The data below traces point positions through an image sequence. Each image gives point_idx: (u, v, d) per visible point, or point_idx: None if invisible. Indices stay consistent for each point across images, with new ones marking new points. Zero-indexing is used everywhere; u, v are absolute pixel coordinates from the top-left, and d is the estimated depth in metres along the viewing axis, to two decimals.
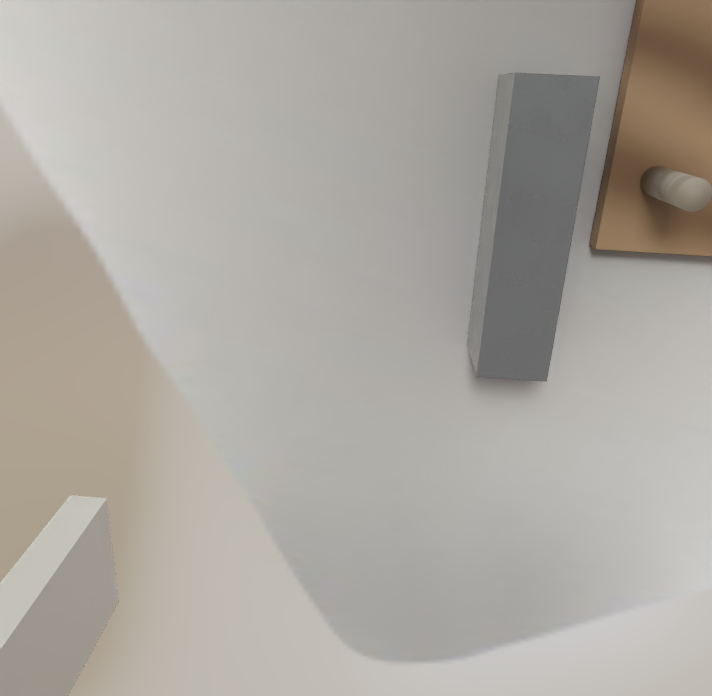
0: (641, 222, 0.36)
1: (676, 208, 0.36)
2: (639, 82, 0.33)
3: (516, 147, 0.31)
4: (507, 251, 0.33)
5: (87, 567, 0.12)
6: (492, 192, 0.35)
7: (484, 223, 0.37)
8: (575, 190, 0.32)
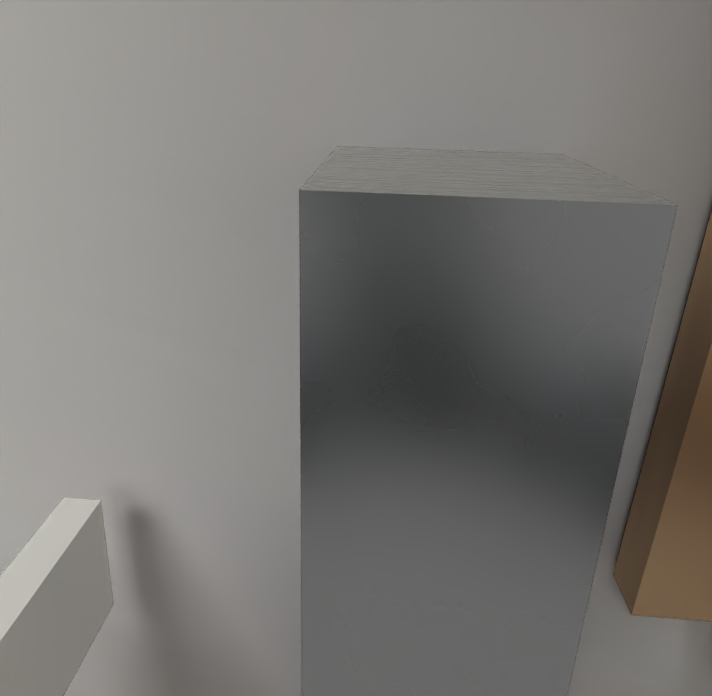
0: None
1: None
2: None
3: (342, 458, 0.08)
4: None
5: (81, 569, 0.12)
6: None
7: None
8: (573, 592, 0.09)
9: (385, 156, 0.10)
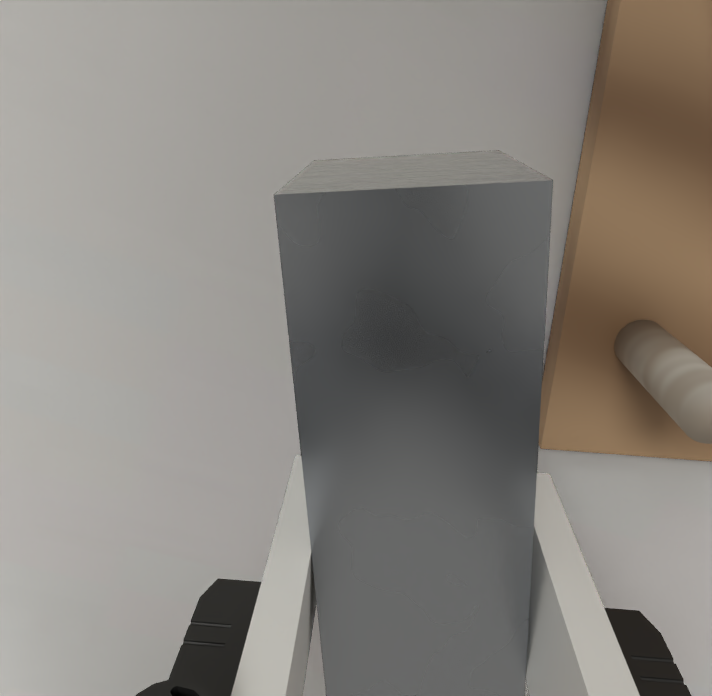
0: (617, 409, 0.21)
1: None
2: (608, 179, 0.18)
3: (328, 399, 0.10)
4: (360, 641, 0.12)
5: None
6: None
7: None
8: (522, 495, 0.11)
9: (349, 165, 0.13)
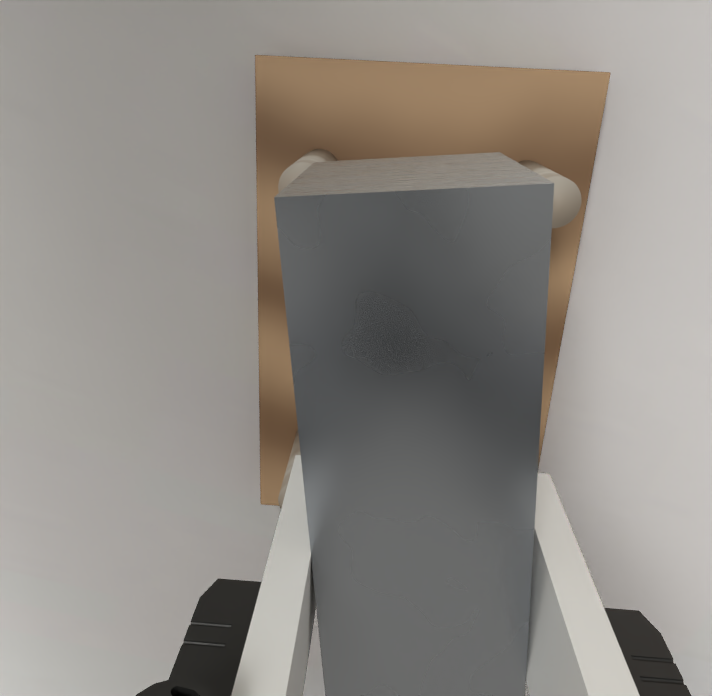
0: None
1: None
2: (271, 334, 0.28)
3: (327, 402, 0.10)
4: (360, 644, 0.12)
5: None
6: None
7: None
8: (523, 499, 0.11)
9: (350, 167, 0.12)
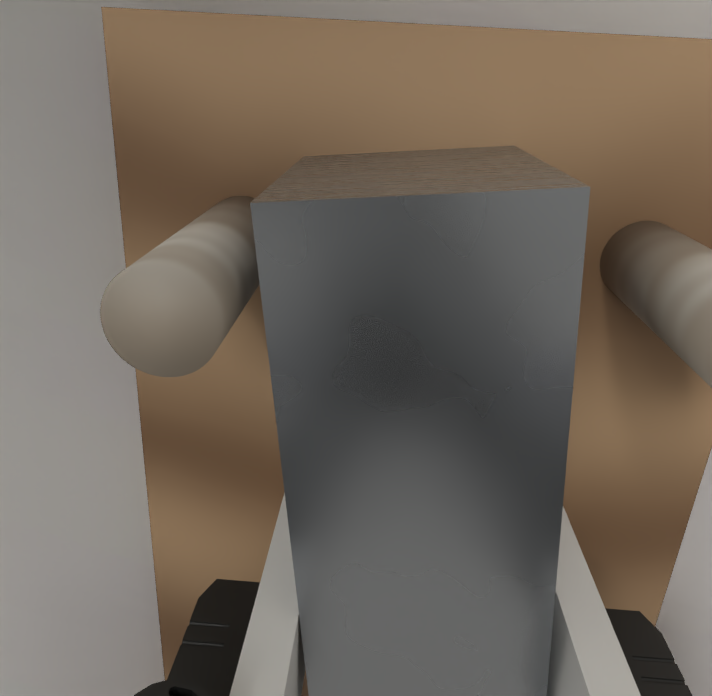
0: None
1: None
2: (171, 512, 0.16)
3: (316, 442, 0.09)
4: None
5: None
6: None
7: None
8: (543, 551, 0.09)
9: (344, 163, 0.11)
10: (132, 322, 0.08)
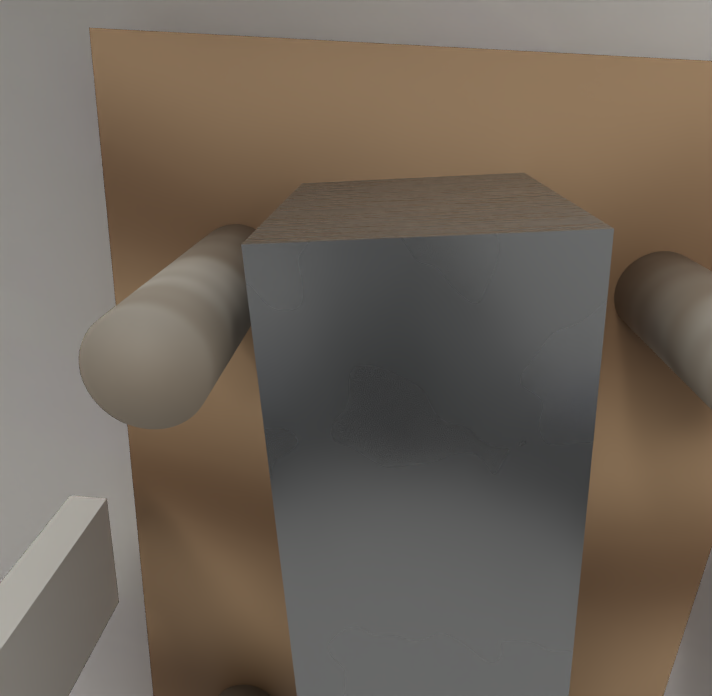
0: None
1: None
2: (163, 551, 0.15)
3: (313, 499, 0.08)
4: None
5: (87, 567, 0.12)
6: None
7: None
8: (559, 615, 0.09)
9: (344, 192, 0.10)
10: (113, 371, 0.08)
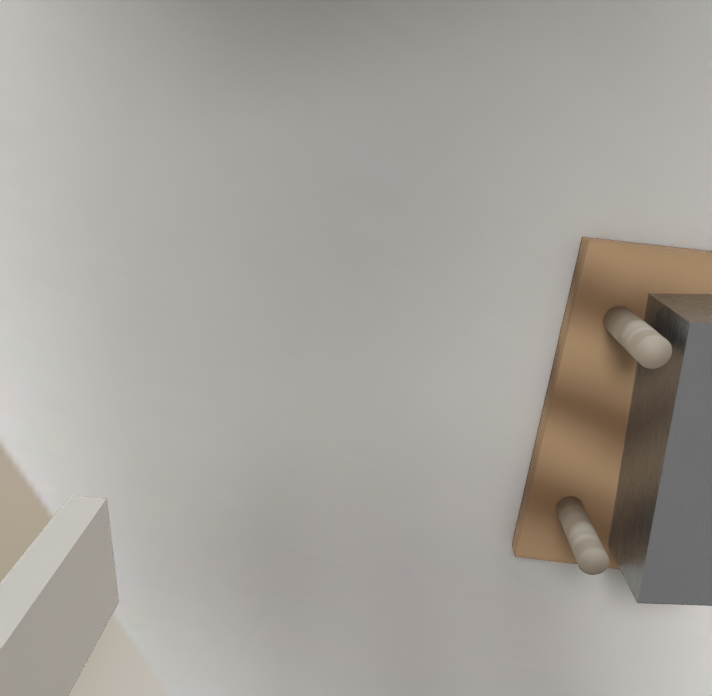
0: (556, 538, 0.39)
1: None
2: (554, 431, 0.37)
3: (688, 390, 0.30)
4: (675, 486, 0.32)
5: (87, 567, 0.12)
6: (650, 417, 0.33)
7: (634, 437, 0.35)
8: None
9: (676, 301, 0.32)
10: (645, 352, 0.29)
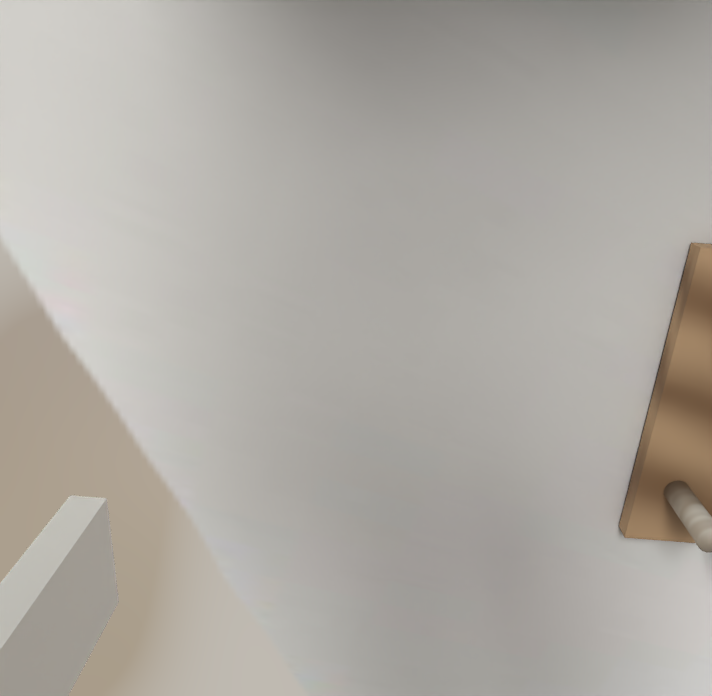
0: (664, 519, 0.42)
1: None
2: (664, 422, 0.40)
3: None
4: None
5: (87, 567, 0.12)
6: None
7: None
8: None
9: None
10: None
